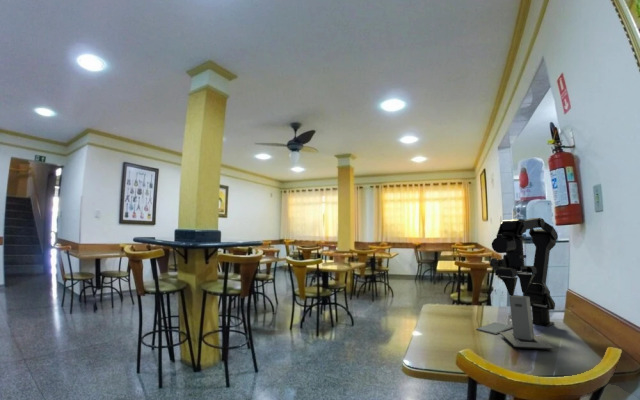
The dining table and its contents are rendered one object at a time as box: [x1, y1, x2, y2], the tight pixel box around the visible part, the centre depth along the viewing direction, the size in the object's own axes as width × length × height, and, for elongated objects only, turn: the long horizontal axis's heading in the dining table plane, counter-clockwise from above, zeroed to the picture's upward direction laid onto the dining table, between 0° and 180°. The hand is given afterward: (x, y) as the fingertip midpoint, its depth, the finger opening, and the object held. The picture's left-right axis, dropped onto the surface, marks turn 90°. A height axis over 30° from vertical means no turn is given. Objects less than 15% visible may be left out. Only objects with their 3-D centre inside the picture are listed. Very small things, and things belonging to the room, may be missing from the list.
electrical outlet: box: [500, 331, 554, 351], centre depth 100 cm, size 13×10×2 cm
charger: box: [509, 294, 535, 341], centre depth 102 cm, size 4×5×13 cm
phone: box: [475, 321, 513, 336], centre depth 116 cm, size 14×7×1 cm, turn 125°
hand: (517, 294), depth 116 cm, fingers open, 9 cm apart
